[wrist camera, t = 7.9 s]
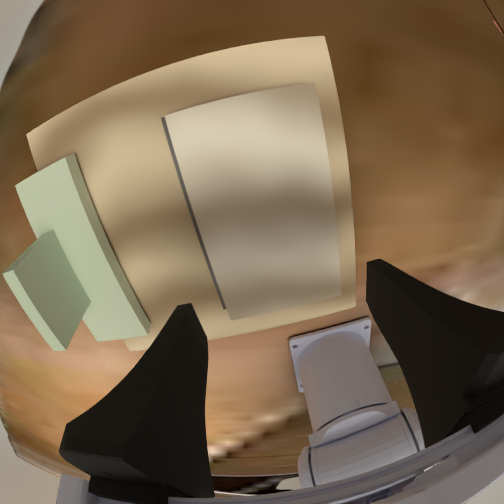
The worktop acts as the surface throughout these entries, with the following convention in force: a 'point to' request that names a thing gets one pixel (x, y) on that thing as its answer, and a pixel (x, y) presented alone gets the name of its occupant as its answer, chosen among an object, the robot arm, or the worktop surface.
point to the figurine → (494, 18)
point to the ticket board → (155, 188)
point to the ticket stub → (70, 263)
